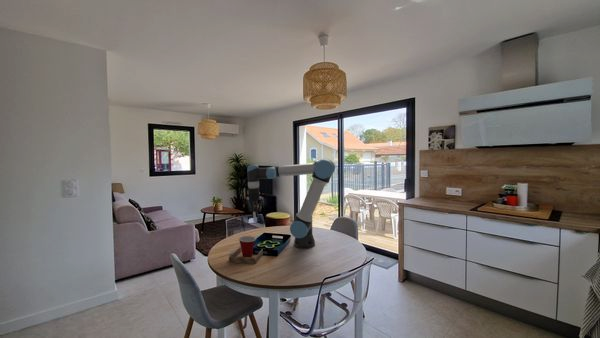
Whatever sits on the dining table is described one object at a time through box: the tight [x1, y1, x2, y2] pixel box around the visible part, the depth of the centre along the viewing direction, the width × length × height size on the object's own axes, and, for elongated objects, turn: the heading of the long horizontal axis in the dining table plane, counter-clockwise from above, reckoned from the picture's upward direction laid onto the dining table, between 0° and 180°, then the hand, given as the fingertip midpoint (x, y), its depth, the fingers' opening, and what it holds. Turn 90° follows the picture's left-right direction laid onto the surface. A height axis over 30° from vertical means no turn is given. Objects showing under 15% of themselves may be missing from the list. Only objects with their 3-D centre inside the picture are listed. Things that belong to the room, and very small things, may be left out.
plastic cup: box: [238, 235, 257, 258], centre depth 157 cm, size 11×11×12 cm
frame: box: [228, 246, 264, 264], centre depth 155 cm, size 17×16×3 cm
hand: (255, 221), depth 169 cm, fingers closed
